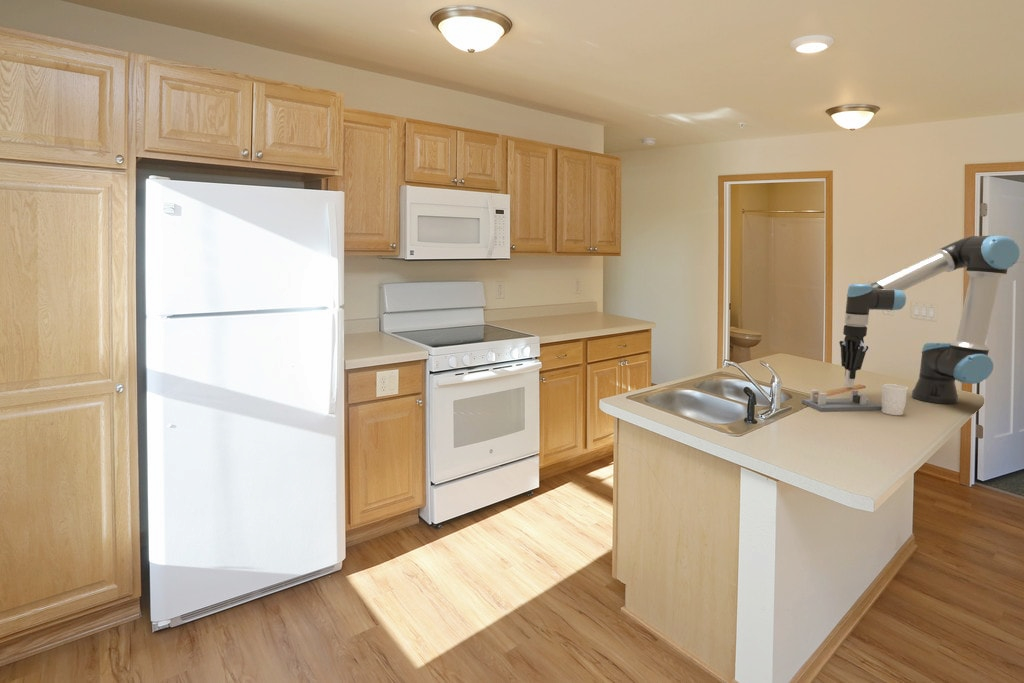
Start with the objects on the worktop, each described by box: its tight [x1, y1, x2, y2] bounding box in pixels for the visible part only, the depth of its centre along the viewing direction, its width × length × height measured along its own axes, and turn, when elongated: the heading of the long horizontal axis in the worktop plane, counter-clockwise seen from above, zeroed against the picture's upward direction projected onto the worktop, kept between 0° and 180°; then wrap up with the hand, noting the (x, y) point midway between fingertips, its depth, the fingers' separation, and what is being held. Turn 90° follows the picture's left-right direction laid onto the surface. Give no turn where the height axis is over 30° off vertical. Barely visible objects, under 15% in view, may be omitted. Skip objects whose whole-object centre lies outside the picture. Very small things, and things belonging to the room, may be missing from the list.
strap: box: [813, 383, 866, 398], centre depth 220 cm, size 19×3×1 cm, turn 94°
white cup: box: [880, 383, 909, 416], centre depth 212 cm, size 8×8×10 cm
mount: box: [801, 389, 882, 413], centre depth 220 cm, size 25×12×6 cm, turn 96°
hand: (848, 386), depth 220 cm, fingers closed
